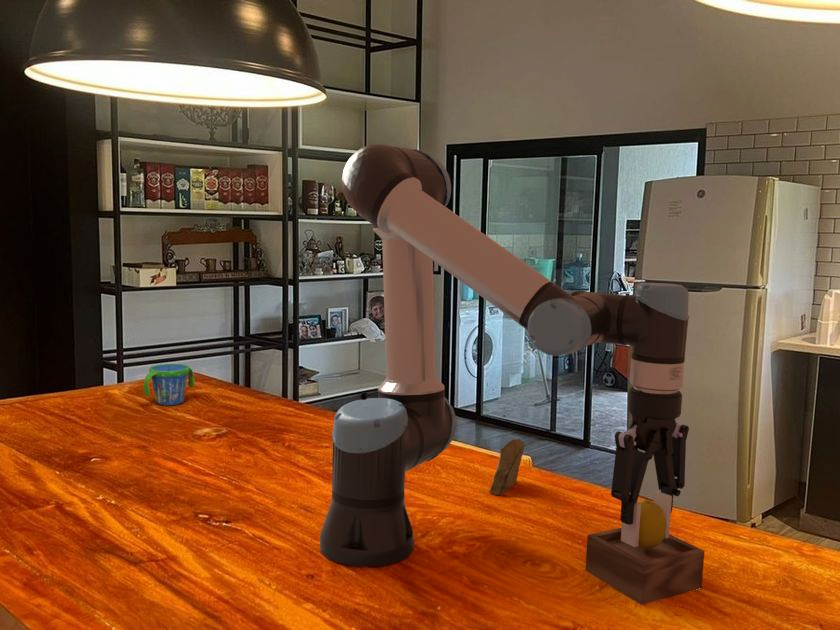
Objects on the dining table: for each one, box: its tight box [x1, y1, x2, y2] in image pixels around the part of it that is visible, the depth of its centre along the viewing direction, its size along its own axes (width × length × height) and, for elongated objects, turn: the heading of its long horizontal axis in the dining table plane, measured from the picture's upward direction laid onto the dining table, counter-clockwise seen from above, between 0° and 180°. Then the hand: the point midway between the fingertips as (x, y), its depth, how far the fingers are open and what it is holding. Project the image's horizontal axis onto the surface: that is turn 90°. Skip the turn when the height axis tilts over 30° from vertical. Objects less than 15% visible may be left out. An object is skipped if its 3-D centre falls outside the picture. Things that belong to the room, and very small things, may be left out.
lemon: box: [638, 498, 666, 551], centre depth 118 cm, size 6×6×8 cm
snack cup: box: [142, 363, 196, 406], centre depth 219 cm, size 16×10×10 cm
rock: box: [488, 438, 526, 496], centre depth 159 cm, size 11×9×10 cm
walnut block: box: [585, 527, 705, 606], centre depth 119 cm, size 12×12×6 cm
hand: (645, 538), depth 119 cm, fingers open, 6 cm apart
